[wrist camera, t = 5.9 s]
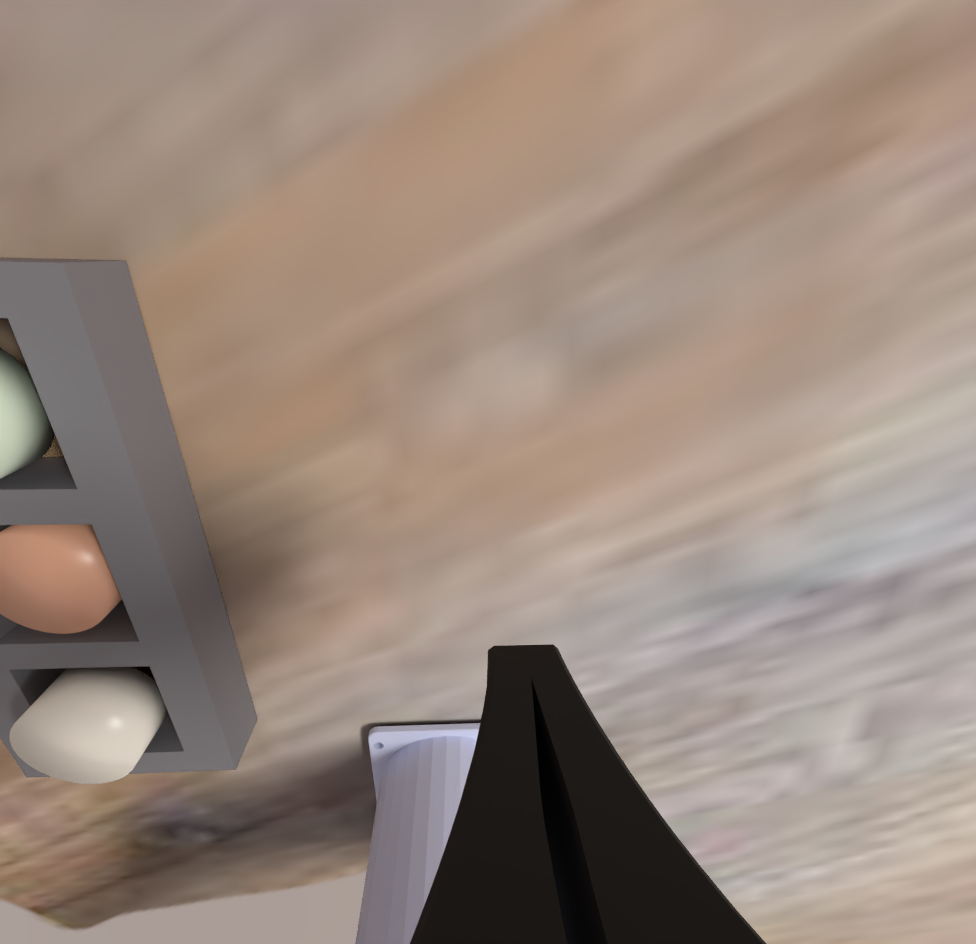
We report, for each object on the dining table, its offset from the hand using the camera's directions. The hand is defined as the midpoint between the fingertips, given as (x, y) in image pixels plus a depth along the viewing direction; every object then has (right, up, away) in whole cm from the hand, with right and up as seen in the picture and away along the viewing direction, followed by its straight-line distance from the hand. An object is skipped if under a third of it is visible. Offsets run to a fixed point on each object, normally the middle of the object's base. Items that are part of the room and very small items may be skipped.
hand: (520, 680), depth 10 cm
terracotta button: (-17, +1, +9) cm, 19 cm away
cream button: (-17, -5, +10) cm, 20 cm away
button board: (-17, +1, +9) cm, 19 cm away
